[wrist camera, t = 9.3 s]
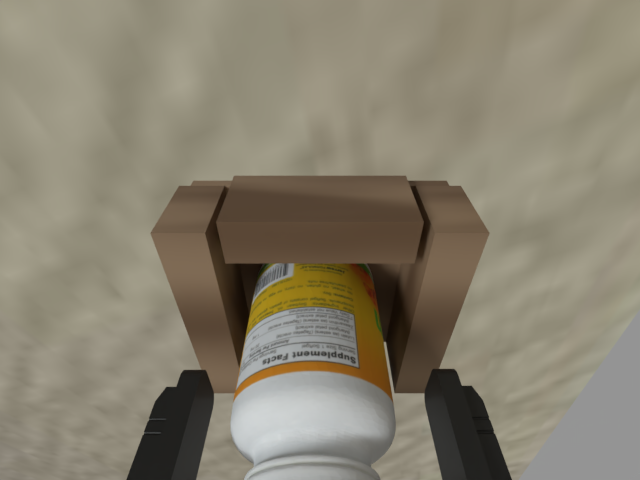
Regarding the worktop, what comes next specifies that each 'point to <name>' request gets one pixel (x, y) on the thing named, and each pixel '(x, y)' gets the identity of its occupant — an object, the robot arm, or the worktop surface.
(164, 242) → the socket block
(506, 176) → the worktop surface
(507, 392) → the worktop surface
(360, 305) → the supplement bottle
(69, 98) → the worktop surface
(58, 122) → the worktop surface
